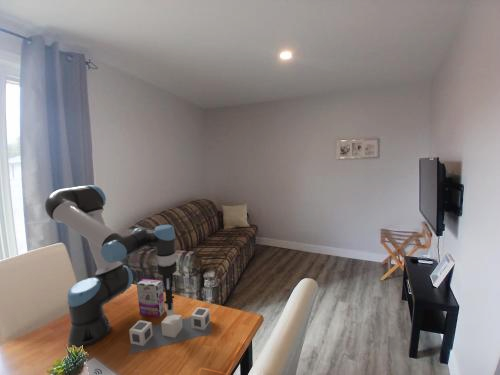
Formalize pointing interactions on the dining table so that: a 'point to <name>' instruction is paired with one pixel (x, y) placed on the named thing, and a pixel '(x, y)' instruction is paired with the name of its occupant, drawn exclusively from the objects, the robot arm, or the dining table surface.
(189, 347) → the dining table surface
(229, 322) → the dining table surface
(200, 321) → the marked block
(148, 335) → the marked block
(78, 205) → the robot arm
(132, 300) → the dining table surface
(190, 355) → the dining table surface
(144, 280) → the candy bar box
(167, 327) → the plain block
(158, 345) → the grey mat
